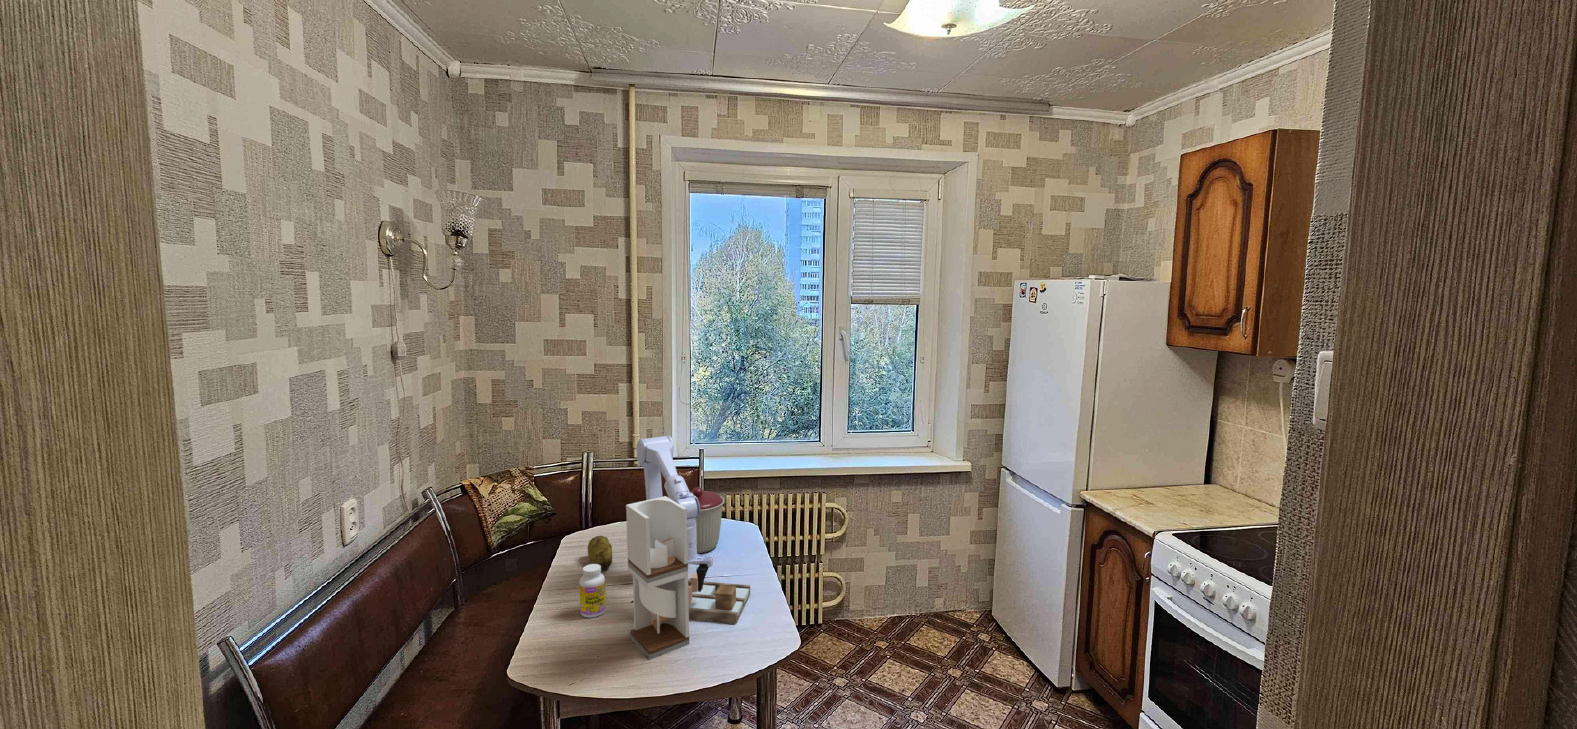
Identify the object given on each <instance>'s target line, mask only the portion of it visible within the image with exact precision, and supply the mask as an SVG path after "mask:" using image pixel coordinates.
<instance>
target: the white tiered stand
mask: <svg viewBox="0 0 1577 729" xmlns="http://www.w3.org/2000/svg"><path fill="white" fill-rule="evenodd" d="M625 509H626V539H627V540H626V541H627V542H626V544H627V546H626V547H627V570H628V571H627V572H628V573H630V574H631V576H632V591H633V592H632V593H633V595H632V597H633V620H634V621H633V622H634V623H633V624H634V626H633V629H630V630H629V635H630V637H629V638H630V639H631V640H632V642H634V644H635V645H636V646H637V647H638V649H640V650H641V652H642V653H643V654H644V655H645V656H646V657H647V658H648V660H652V659H655V658H657V657H660V656H662V655H665V654H668V653H670V652H672V651H675V650H677V649H680V648H682V647H683V648H684V647H685V646H688V645H690V619H689V600H688V580H689V564H688V547H687V509H686V508H685V507H683V506H681V505H680V504H678V503H676V502H675V501H673V500H671V499H670V498H669V497H668V496H666V495H664V496H663V497H659V498H655V499H650V500H647V499H646V500H643V501H641V500H640V501H637V502H632V503H628V504H625Z"/></svg>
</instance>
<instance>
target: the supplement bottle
mask: <svg viewBox="0 0 1577 729" xmlns="http://www.w3.org/2000/svg"><path fill="white" fill-rule="evenodd" d="M578 582H579V584H578V585H579V611H580V615H581V616H582V617H584V618H596V617H600V616H601V615H603V614H604V613H605V611H606V609H607V608H606V604H607V603H606V602H607V601H606V578H605V576H604V574H603V573H602V570H601V566H600V565H598V564H591V563H589V564H587V565H585V566H584V567H582V576H581V577H580V578H579V580H578Z"/></svg>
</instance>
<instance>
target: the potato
mask: <svg viewBox="0 0 1577 729" xmlns="http://www.w3.org/2000/svg"><path fill="white" fill-rule="evenodd" d="M587 555H588V558H589V564H598V565H600V566H601V571H605V570H608V569H609V568H610V567H611V565H612V563H613V546H612V544H611V543H610V540H609V539H608V537H606V536H603V535H596V536H594V537H592V538H591V539H590V540H589V542H588V544H587Z"/></svg>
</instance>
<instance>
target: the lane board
mask: <svg viewBox="0 0 1577 729" xmlns="http://www.w3.org/2000/svg"><path fill="white" fill-rule="evenodd" d="M703 585H710V586H715V592H714V594H713V595H703V594H692V597H694V598H705V599H715V593H716V591H717V590H718V588H719V586H720V585H723V586H734V587H736V588H745V589H749V595H748V597H747V599H746V601H745V603H744V598H737V597H736V601H739V602H743V606H742V608H741V611H740V613H739V615H738V616H737V612H731V611H721V610H710V609H699V608H689V621H690V620H692V621H702V622H711V623H722V624H732V625H733V624H735V625H737V623H738V622H739V619H740V617H741V615H742V613H743V611H744V609H745V606H746V604H747V603H748V600H749V599H750V596H751V585H749V584H738V583H726V582H714V581H705V580H704V583H703ZM688 586H691V581H690V579H688Z"/></svg>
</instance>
